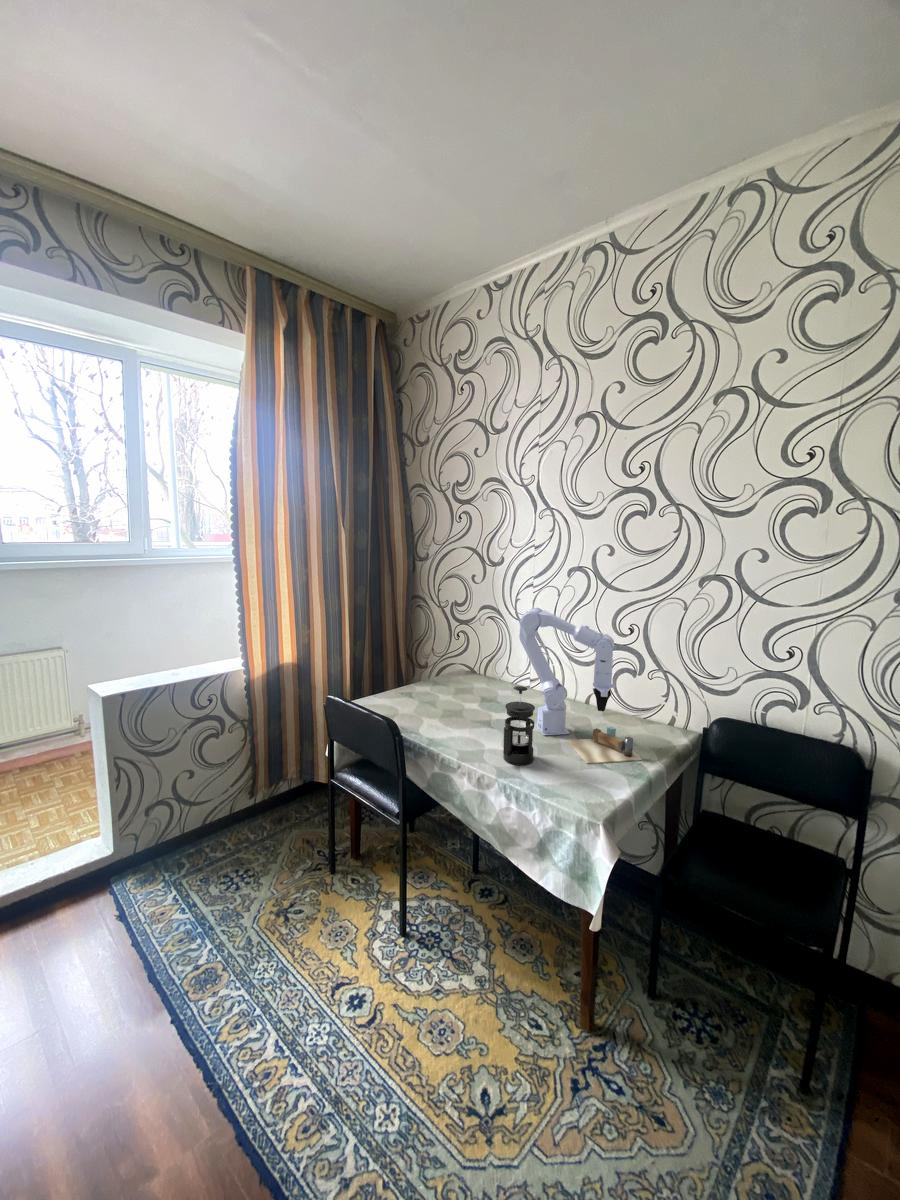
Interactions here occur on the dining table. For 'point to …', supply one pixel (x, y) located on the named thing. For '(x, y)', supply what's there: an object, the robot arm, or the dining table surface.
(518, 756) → the french press
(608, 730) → the post
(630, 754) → the hinge post
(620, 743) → the tan wooden bar
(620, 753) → the board
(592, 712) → the dining table surface
